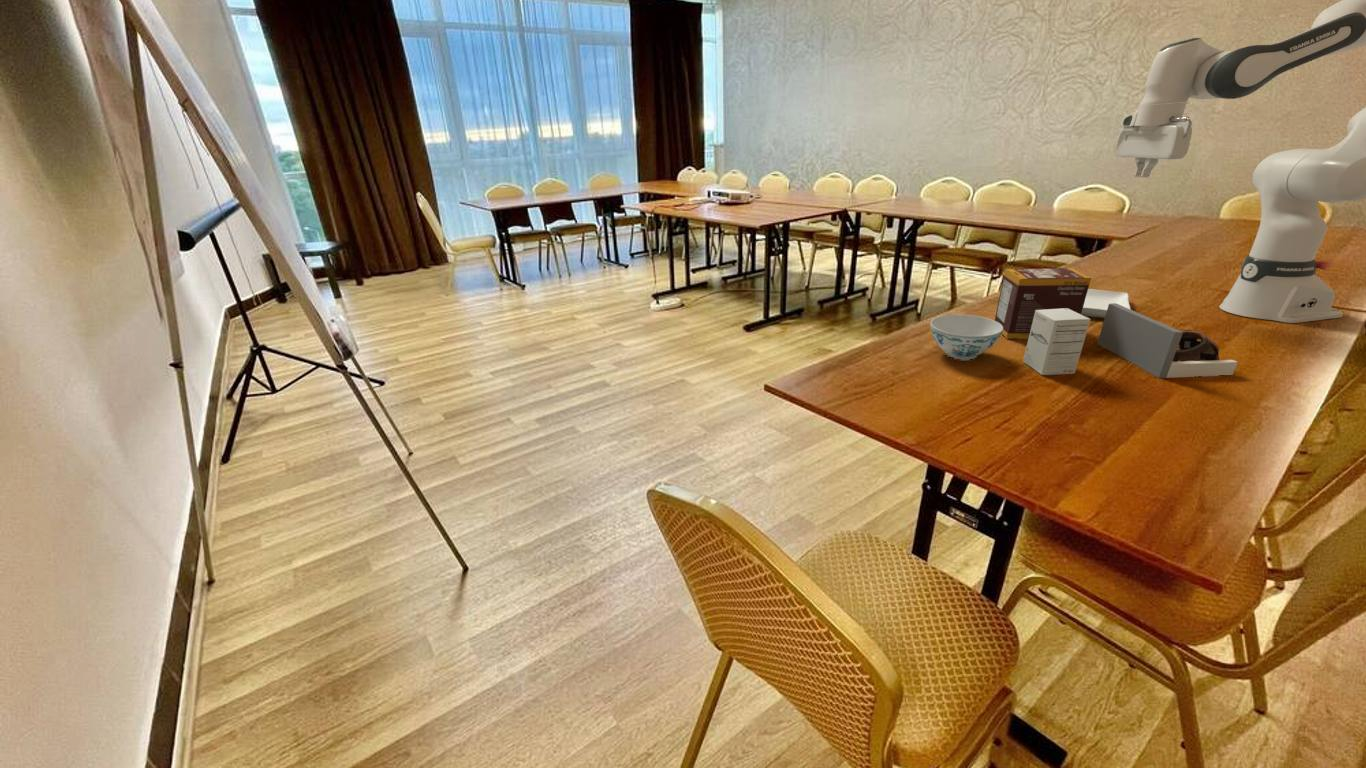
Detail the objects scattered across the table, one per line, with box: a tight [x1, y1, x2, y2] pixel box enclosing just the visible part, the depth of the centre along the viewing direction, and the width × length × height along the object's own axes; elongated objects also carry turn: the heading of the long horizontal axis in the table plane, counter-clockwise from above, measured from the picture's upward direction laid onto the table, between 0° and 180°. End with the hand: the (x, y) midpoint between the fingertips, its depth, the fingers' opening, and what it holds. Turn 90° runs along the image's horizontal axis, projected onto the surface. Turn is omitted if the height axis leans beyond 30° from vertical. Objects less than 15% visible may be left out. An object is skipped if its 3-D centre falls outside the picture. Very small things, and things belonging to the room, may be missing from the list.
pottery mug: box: [1172, 329, 1221, 362], centre depth 112 cm, size 12×10×8 cm
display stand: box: [1096, 303, 1238, 379], centre depth 113 cm, size 14×19×10 cm
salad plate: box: [1081, 288, 1132, 319], centre depth 147 cm, size 21×21×3 cm
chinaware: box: [930, 314, 1003, 361], centre depth 122 cm, size 15×15×8 cm
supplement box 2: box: [1022, 308, 1092, 376], centre depth 112 cm, size 7×7×13 cm
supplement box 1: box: [994, 267, 1092, 340], centre depth 130 cm, size 10×15×16 cm
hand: (1141, 177), depth 134 cm, fingers closed
